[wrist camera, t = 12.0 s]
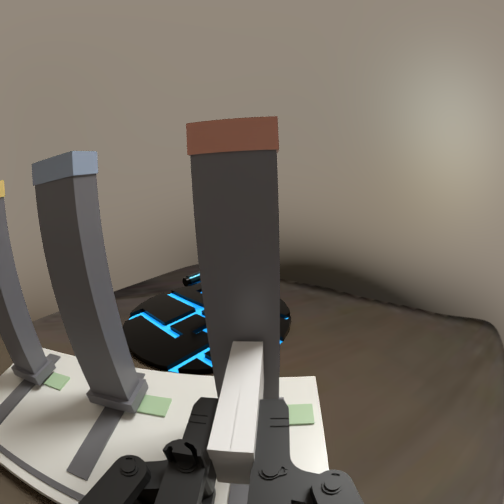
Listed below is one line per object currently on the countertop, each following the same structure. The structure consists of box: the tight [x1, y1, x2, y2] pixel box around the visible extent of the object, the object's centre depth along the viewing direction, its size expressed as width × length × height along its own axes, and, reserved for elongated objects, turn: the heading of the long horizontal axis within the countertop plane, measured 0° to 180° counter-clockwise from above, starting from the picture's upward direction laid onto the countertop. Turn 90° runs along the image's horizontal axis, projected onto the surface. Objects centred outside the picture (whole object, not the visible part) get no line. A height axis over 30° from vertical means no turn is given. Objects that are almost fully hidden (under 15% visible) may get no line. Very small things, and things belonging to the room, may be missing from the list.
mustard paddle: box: [0, 180, 56, 386], centre depth 17 cm, size 4×3×18 cm
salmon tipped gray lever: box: [186, 116, 284, 399], centre depth 14 cm, size 4×3×18 cm
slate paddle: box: [32, 151, 149, 414], centre depth 16 cm, size 4×3×18 cm
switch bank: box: [0, 348, 329, 504], centre depth 16 cm, size 32×16×2 cm, turn 86°
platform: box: [123, 272, 291, 374], centre depth 35 cm, size 22×22×6 cm
